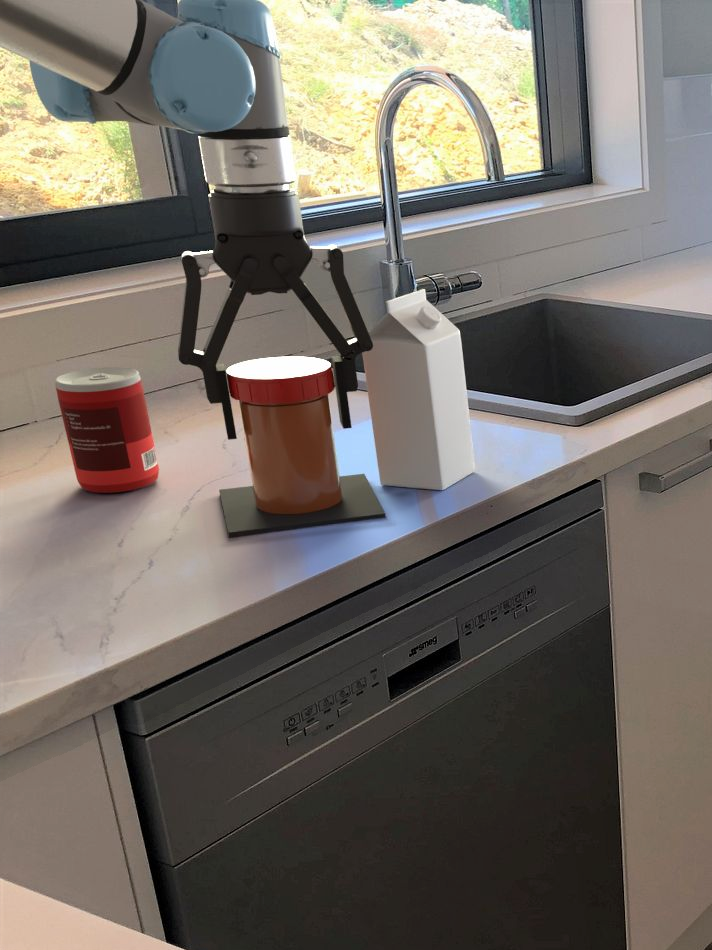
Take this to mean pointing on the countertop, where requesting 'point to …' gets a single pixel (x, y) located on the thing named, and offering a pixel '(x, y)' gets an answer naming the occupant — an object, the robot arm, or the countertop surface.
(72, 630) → the countertop surface
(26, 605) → the countertop surface
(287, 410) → the jar
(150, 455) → the canned food
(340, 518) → the mat
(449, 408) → the milk carton
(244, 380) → the jar lid
